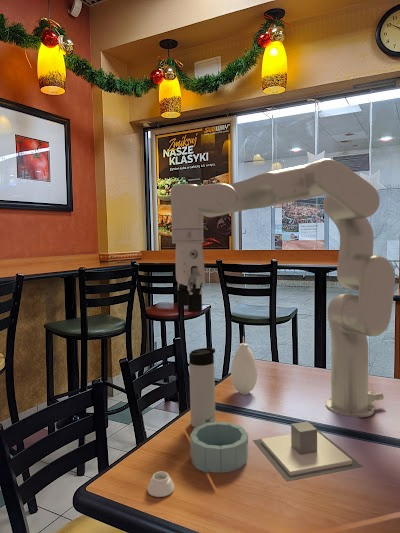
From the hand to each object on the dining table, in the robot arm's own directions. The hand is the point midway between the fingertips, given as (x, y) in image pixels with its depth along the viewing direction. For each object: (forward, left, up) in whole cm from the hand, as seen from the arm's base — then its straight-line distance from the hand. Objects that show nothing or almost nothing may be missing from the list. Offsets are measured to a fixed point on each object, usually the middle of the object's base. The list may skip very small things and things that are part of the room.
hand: (189, 308), depth 99 cm
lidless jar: (+11, +21, -31) cm, 39 cm away
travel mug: (-4, -2, -31) cm, 31 cm away
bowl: (-3, +14, -31) cm, 34 cm away
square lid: (-21, +18, -30) cm, 41 cm away
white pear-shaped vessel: (-22, -20, -31) cm, 43 cm away
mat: (-21, +18, -31) cm, 41 cm away
